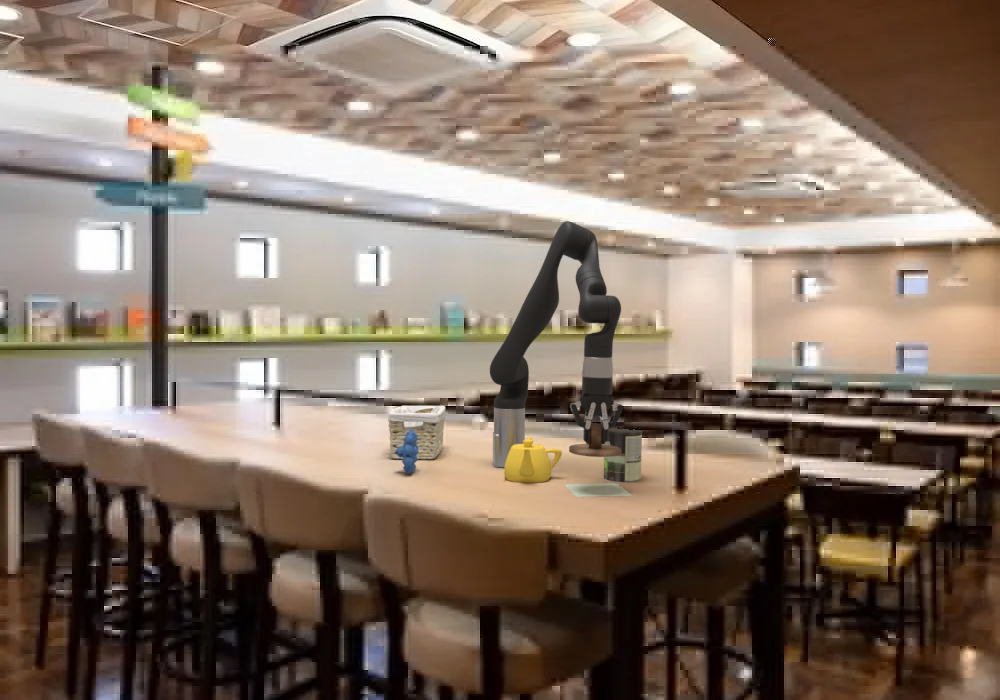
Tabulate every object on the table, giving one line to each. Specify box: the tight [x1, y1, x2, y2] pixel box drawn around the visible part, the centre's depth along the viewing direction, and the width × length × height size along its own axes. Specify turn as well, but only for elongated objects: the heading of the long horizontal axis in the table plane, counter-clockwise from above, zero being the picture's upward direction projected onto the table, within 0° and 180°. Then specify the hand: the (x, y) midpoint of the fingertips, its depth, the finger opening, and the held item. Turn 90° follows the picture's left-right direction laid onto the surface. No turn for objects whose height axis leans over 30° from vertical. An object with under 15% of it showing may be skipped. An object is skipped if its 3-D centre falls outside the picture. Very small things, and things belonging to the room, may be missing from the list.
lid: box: [568, 422, 621, 458], centre depth 191 cm, size 13×13×7 cm
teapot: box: [503, 436, 563, 484], centre depth 206 cm, size 22×16×11 cm
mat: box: [564, 483, 633, 498], centre depth 191 cm, size 14×14×1 cm
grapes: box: [395, 430, 419, 475], centre depth 214 cm, size 12×7×12 cm, turn 177°
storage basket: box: [388, 405, 447, 460], centre depth 244 cm, size 24×16×15 cm
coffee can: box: [603, 426, 643, 484], centre depth 205 cm, size 10×10×14 cm
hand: (595, 443), depth 191 cm, fingers closed on lid, 3 cm apart
